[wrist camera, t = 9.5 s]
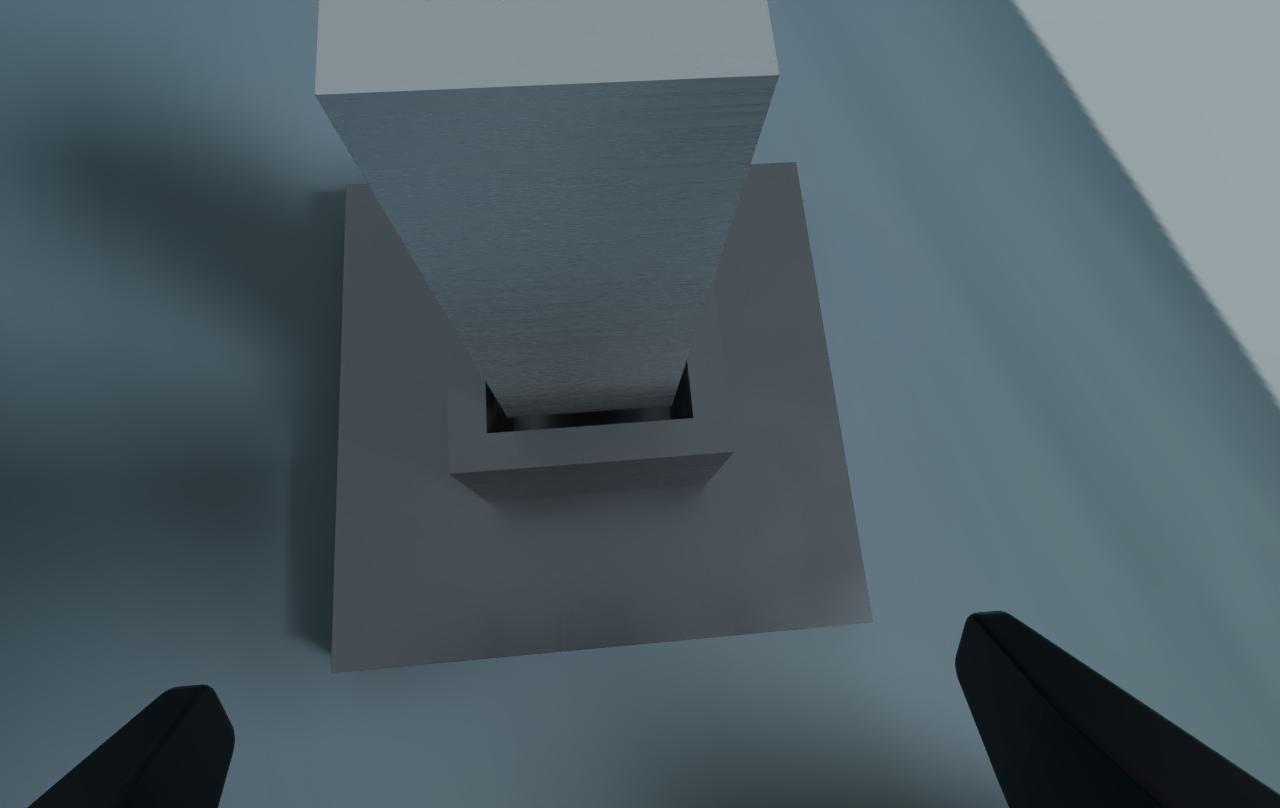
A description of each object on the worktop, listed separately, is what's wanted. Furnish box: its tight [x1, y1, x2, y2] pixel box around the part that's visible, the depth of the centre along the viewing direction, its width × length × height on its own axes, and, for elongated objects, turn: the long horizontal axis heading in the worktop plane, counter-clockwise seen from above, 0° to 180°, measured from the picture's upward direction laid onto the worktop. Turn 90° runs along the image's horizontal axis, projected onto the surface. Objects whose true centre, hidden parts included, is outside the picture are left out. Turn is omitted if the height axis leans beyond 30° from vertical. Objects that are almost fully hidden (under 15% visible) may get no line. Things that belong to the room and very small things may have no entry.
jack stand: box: [331, 162, 873, 673], centre depth 18 cm, size 14×14×6 cm
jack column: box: [315, 0, 779, 418], centre depth 11 cm, size 4×4×10 cm
